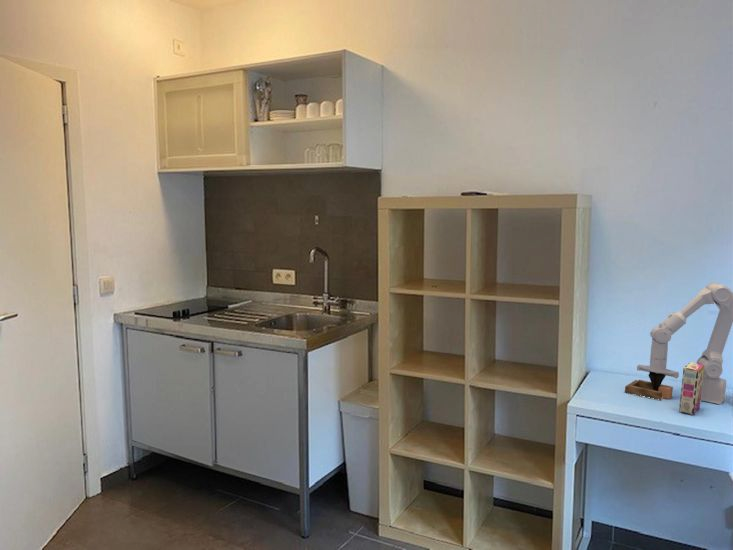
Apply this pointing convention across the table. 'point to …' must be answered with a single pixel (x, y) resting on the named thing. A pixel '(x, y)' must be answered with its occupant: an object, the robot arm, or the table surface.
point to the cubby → (643, 389)
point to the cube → (666, 391)
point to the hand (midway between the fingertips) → (655, 391)
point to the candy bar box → (691, 388)
